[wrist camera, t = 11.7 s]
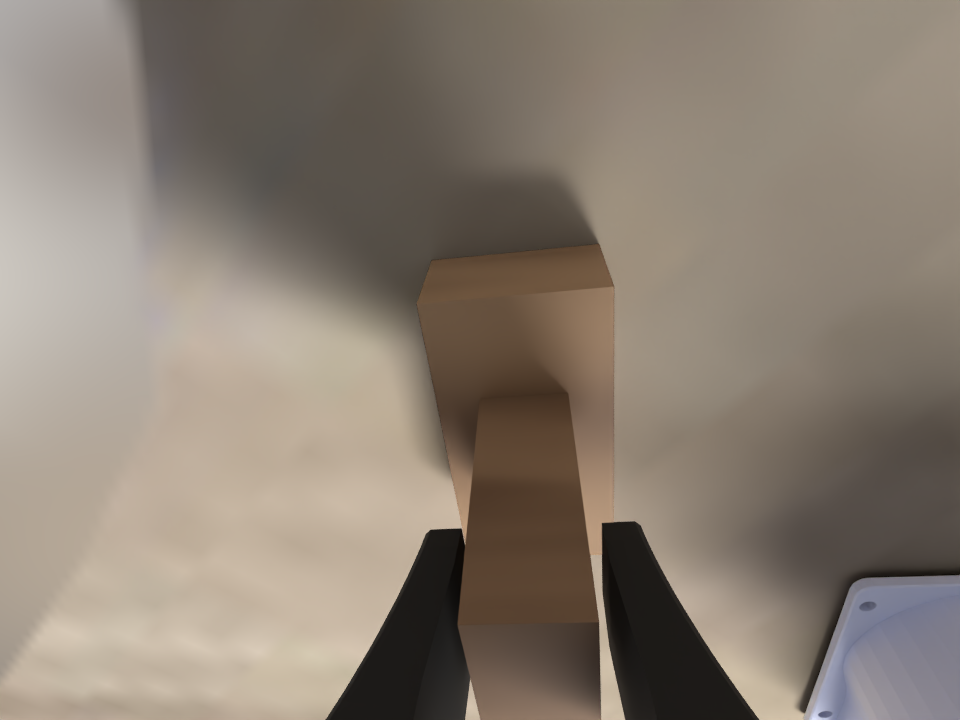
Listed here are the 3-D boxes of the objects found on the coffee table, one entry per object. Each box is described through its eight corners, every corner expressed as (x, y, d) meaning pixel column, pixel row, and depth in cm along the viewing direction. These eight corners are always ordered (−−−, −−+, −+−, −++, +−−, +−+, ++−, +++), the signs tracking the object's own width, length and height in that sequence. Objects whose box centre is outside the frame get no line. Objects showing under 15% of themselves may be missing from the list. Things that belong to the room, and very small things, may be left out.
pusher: (601, 487, 17) (656, 795, 10) (474, 493, 18) (448, 792, 11) (598, 242, 13) (685, 489, 6) (432, 258, 14) (346, 504, 7)
